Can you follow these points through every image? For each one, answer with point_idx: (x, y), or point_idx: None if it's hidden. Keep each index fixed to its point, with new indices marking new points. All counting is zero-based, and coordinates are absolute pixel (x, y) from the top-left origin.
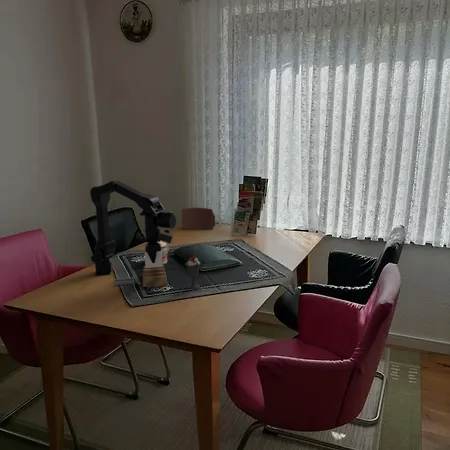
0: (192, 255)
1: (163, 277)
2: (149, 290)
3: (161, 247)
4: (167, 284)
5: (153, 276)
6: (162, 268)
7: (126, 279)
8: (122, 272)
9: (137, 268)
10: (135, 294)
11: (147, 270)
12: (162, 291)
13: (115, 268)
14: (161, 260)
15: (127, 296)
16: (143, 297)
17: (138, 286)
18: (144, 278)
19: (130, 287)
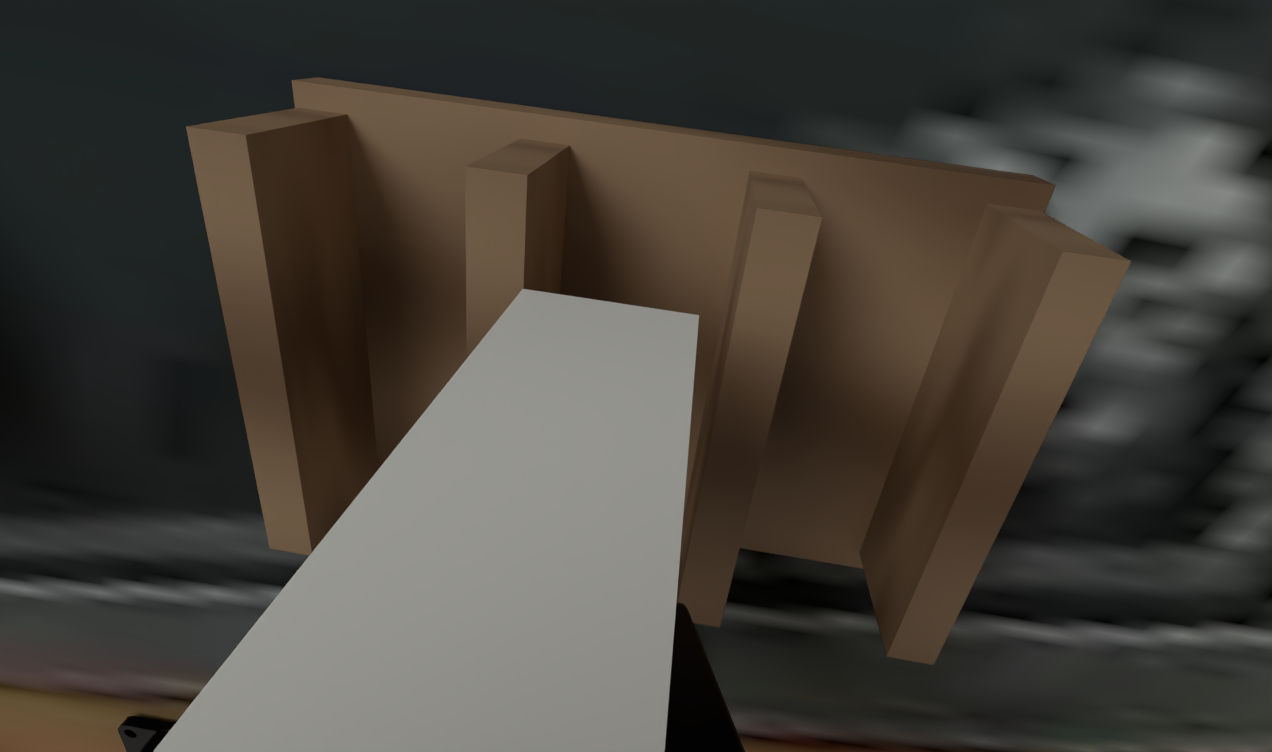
0: None
1: (1087, 313)
2: (1047, 493)
3: None
4: (1047, 182)
5: (950, 512)
6: (475, 224)
7: None
8: (216, 638)
9: (53, 468)
10: (1073, 660)
11: None
12: (1249, 323)
13: (75, 670)
14: (683, 445)
15: (1075, 733)
16: (1265, 607)
17: (795, 582)
18: (932, 646)
19: (784, 660)
